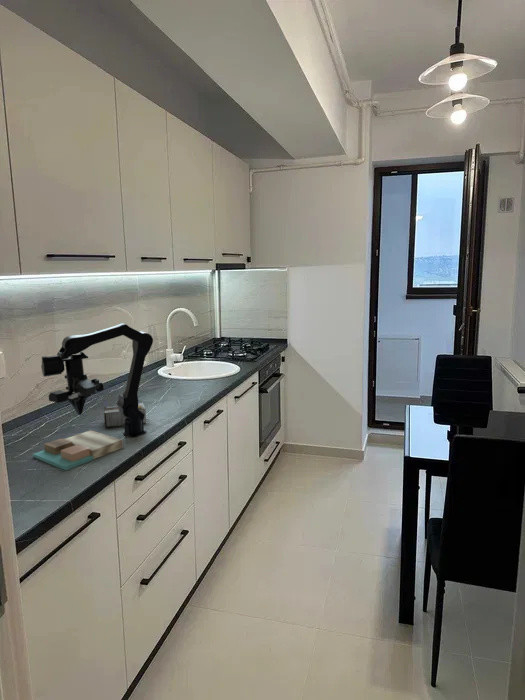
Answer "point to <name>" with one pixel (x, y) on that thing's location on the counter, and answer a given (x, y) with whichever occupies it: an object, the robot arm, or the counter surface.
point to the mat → (60, 460)
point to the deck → (96, 442)
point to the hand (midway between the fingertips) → (79, 414)
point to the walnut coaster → (57, 446)
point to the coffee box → (119, 415)
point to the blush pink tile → (75, 452)
